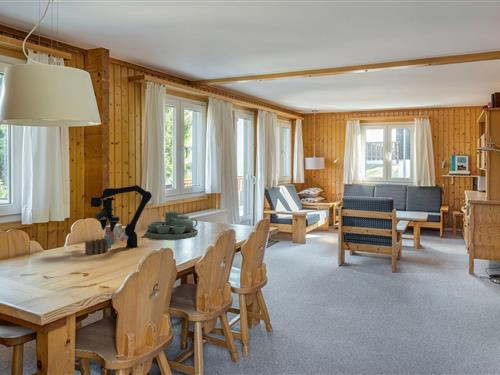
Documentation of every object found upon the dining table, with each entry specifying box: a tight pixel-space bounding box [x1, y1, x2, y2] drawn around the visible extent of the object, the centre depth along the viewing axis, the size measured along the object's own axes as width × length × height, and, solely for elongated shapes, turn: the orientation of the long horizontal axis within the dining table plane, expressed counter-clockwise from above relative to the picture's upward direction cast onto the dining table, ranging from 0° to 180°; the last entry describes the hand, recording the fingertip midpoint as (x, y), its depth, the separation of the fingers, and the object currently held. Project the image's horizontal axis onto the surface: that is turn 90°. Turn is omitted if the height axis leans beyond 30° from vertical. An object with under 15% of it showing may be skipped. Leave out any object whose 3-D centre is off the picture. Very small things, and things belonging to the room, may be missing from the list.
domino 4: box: [100, 238, 109, 253], centre depth 272 cm, size 2×5×8 cm, turn 51°
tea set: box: [145, 210, 199, 240], centre depth 336 cm, size 40×40×16 cm
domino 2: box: [90, 239, 99, 255], centre depth 266 cm, size 2×5×8 cm, turn 51°
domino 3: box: [95, 238, 104, 254], centre depth 269 cm, size 2×5×8 cm, turn 51°
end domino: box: [103, 234, 112, 249], centre depth 284 cm, size 2×5×8 cm, turn 51°
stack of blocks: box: [104, 223, 128, 245], centre depth 306 cm, size 21×6×12 cm, turn 169°
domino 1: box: [84, 240, 93, 256], centre depth 263 cm, size 2×5×8 cm, turn 51°
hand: (107, 230), depth 283 cm, fingers open, 9 cm apart
